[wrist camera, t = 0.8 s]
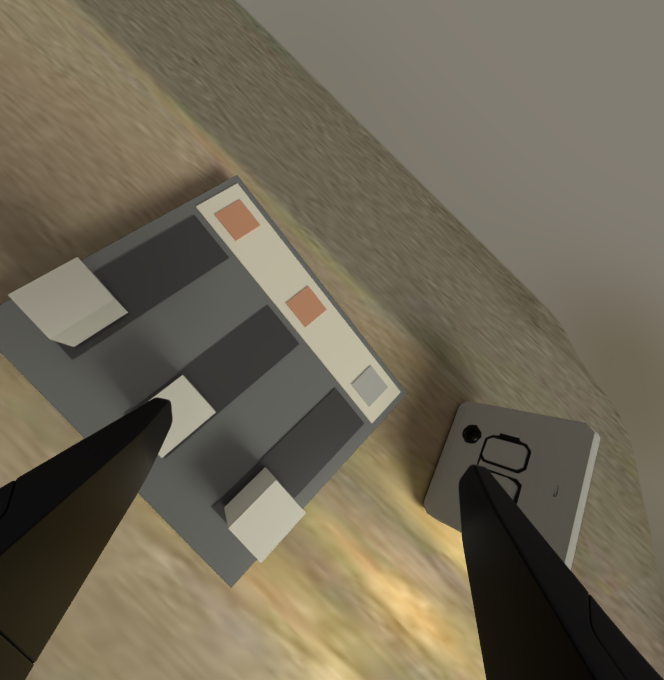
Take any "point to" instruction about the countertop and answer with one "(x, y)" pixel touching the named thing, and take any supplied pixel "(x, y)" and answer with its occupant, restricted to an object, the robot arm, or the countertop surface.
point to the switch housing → (217, 363)
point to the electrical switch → (520, 468)
